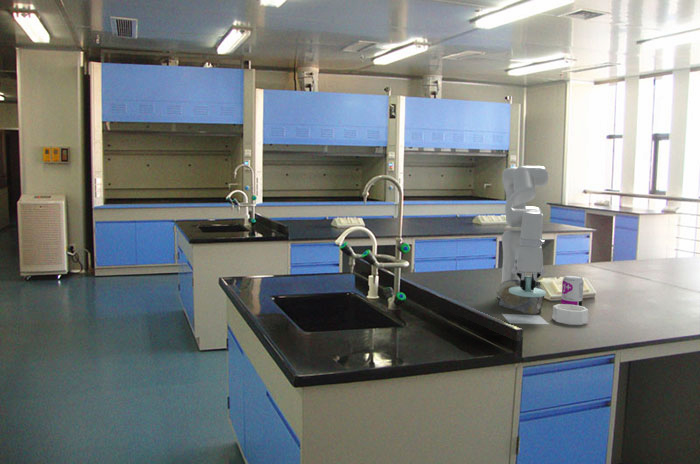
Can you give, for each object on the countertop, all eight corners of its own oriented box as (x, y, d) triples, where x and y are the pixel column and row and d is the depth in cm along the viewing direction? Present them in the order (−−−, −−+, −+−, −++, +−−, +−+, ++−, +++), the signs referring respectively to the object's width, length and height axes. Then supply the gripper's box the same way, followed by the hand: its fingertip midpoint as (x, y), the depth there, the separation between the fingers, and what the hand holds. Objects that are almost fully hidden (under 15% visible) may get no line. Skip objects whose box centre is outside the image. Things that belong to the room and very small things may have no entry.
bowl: (549, 317, 233) (550, 303, 233) (579, 318, 233) (580, 304, 232) (559, 324, 221) (560, 310, 221) (590, 325, 221) (591, 311, 220)
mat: (501, 314, 235) (501, 313, 235) (538, 316, 234) (538, 315, 234) (509, 324, 221) (509, 322, 221) (549, 325, 221) (549, 324, 221)
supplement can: (568, 314, 238) (571, 278, 236) (556, 310, 246) (558, 275, 244) (585, 314, 240) (588, 278, 238) (573, 309, 248) (575, 274, 246)
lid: (505, 287, 235) (506, 272, 234) (539, 288, 234) (541, 273, 233) (513, 296, 221) (514, 280, 220) (550, 297, 220) (551, 281, 219)
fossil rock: (496, 314, 251) (494, 280, 252) (511, 313, 256) (509, 279, 257) (533, 315, 234) (530, 278, 235) (548, 314, 238) (546, 277, 240)
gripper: (548, 242, 228) (545, 287, 231) (506, 241, 229) (504, 286, 231) (554, 245, 221) (551, 292, 223) (511, 244, 221) (508, 291, 224)
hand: (527, 289), depth 227 cm, fingers closed on lid, 2 cm apart
